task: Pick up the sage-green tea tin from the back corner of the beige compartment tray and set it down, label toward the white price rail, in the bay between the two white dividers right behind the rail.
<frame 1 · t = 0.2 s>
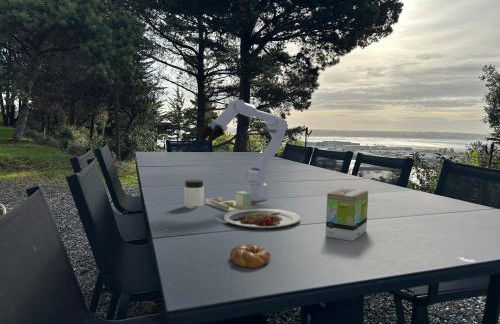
hand: (205, 139, 166), 31 cm above the table, tool tilted 45°, fingers open, 7 cm apart
bagel: (250, 262, 100), on the table
tea box: (346, 234, 127), on the table
plated food: (261, 221, 145), on the table
jar: (194, 207, 171), on the table
beige compartment tray: (231, 207, 170), on the table
tea tin: (243, 205, 169), point 1 cm above the table, touching beige compartment tray
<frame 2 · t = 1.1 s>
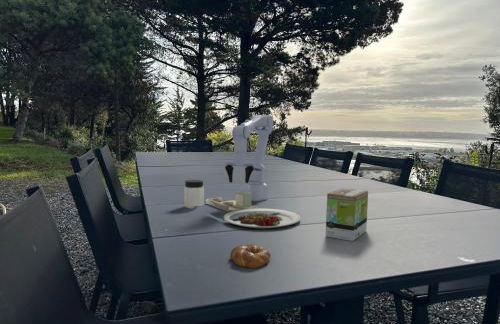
hand: (238, 182, 166), 12 cm above the table, tool pointing down, fingers open, 7 cm apart
nothing on the table moved.
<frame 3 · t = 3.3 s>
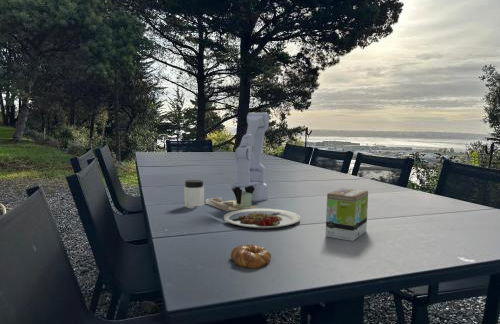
hand: (243, 203, 169), 2 cm above the table, tool pointing down, fingers closed on tea tin, 4 cm apart
tea tin: (243, 205, 169), point 1 cm above the table, touching gripper, beige compartment tray
everything else where it was.
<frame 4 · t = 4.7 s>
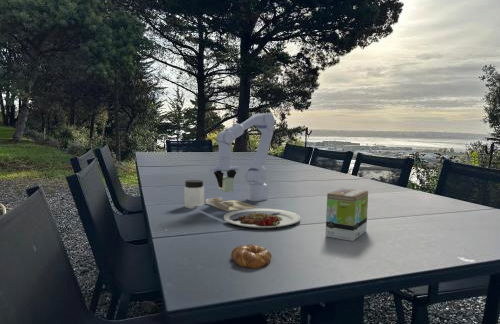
hand: (225, 186, 171), 9 cm above the table, tool pointing down, fingers closed on tea tin, 4 cm apart
tea tin: (225, 190, 171), point 8 cm above the table, touching gripper
everything else where it was.
when the fingers open (3 cm above the table, at t = 6.7 s): tea tin stays where it is, resting on beige compartment tray.
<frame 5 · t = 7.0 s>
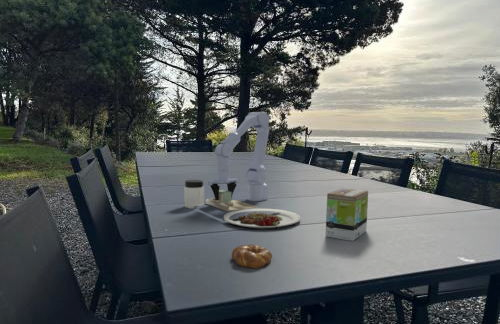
hand: (223, 199, 172), 3 cm above the table, tool pointing down, fingers open, 6 cm apart
tea tin: (224, 204, 172), point 1 cm above the table, touching beige compartment tray
everything else where it was.
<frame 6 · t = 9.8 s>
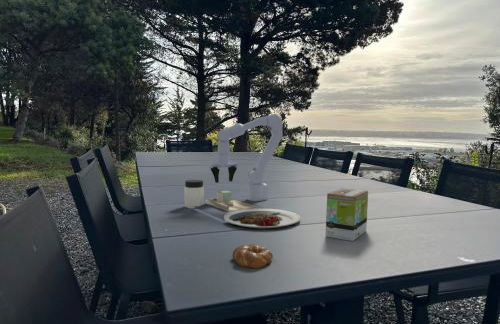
hand: (223, 182, 182), 10 cm above the table, tool pointing down, fingers open, 7 cm apart
nothing on the table moved.
at the end: tea tin 0.5 cm from the target spot, point 1.0 cm above the table; tea tin tilted 0°; the gripper is holding nothing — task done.
